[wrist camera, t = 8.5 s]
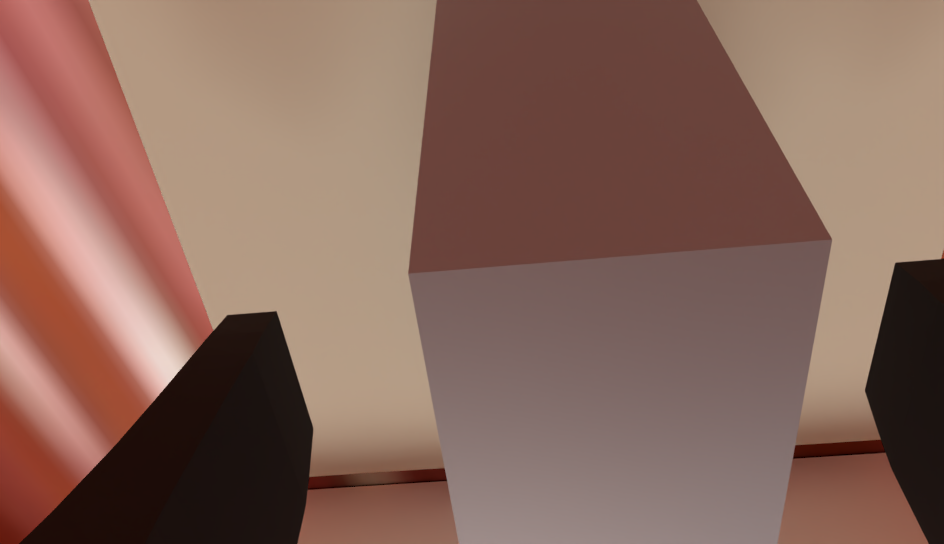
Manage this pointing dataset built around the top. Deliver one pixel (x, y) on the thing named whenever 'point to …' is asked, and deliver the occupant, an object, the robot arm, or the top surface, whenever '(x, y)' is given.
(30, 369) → the top surface
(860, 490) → the rack
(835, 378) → the mat
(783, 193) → the grey flat block
